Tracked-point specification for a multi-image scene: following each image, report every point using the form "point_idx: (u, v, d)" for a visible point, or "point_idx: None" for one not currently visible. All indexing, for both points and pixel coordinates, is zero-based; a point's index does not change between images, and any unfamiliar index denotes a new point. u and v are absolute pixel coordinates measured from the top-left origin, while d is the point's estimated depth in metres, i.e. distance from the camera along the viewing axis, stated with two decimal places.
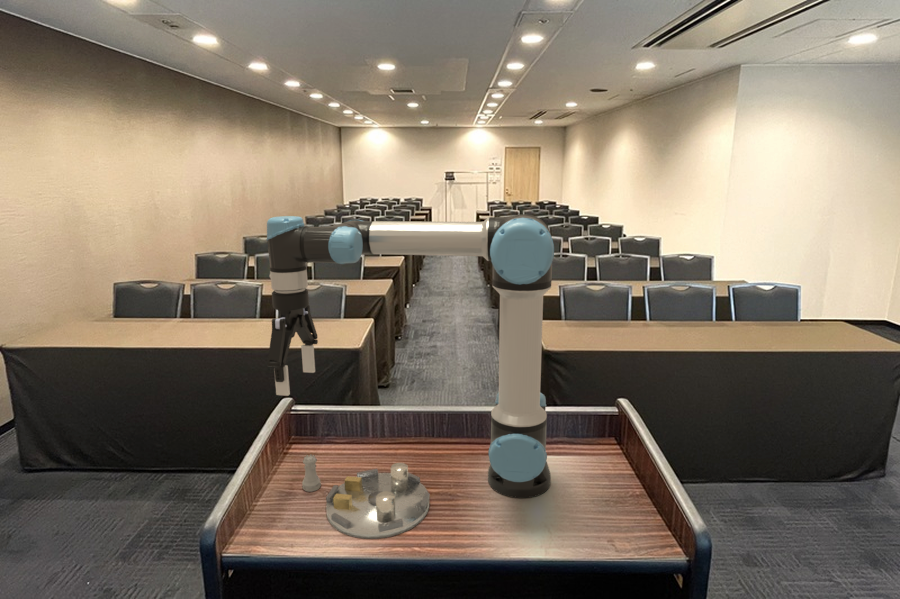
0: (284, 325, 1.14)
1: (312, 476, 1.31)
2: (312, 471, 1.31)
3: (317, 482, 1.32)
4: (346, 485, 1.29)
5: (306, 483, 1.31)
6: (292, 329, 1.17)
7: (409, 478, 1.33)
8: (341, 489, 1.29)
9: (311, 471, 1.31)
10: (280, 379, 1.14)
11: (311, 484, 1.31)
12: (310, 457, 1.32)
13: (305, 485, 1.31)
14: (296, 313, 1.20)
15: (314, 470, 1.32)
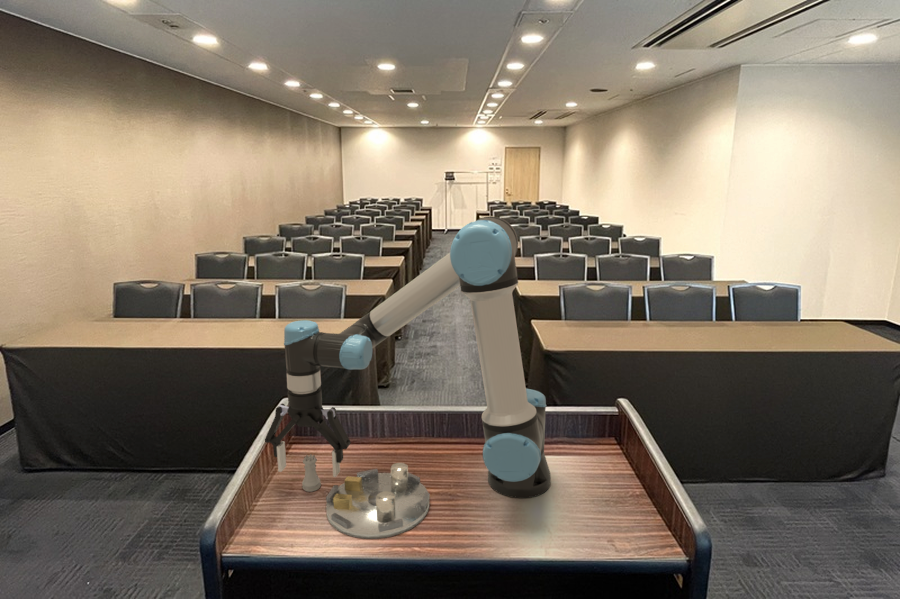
0: (278, 413, 1.28)
1: (312, 476, 1.31)
2: (312, 471, 1.31)
3: (317, 482, 1.32)
4: (346, 485, 1.29)
5: (306, 483, 1.31)
6: (290, 421, 1.28)
7: (409, 478, 1.33)
8: (341, 489, 1.29)
9: (311, 471, 1.31)
10: None
11: (311, 484, 1.31)
12: (310, 457, 1.32)
13: (305, 485, 1.31)
14: (303, 411, 1.27)
15: (314, 470, 1.32)
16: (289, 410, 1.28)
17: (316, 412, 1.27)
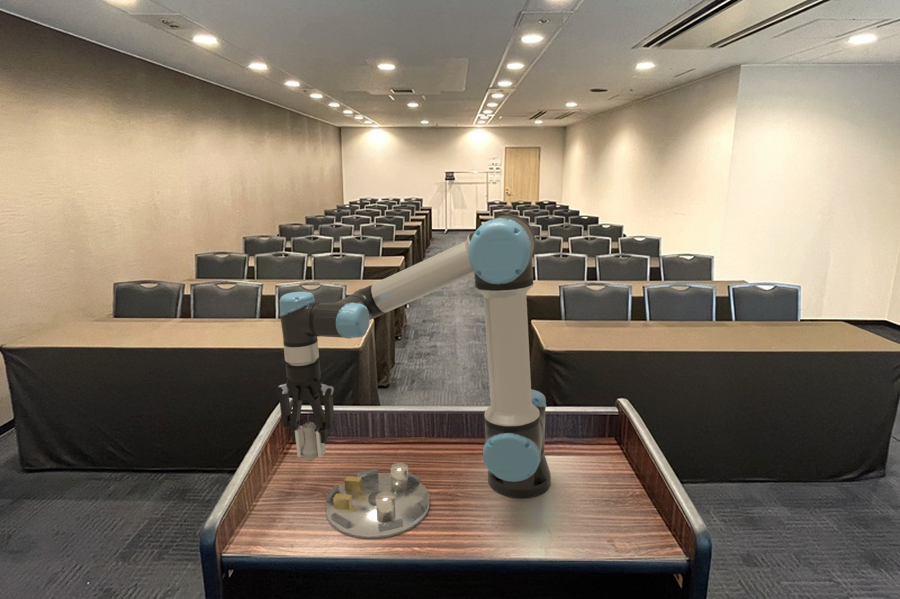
0: (280, 393, 1.27)
1: (311, 444, 1.29)
2: (312, 439, 1.29)
3: (317, 450, 1.30)
4: (346, 485, 1.29)
5: (306, 451, 1.29)
6: (293, 398, 1.27)
7: (409, 478, 1.33)
8: (341, 489, 1.29)
9: (311, 438, 1.29)
10: None
11: (311, 452, 1.29)
12: (309, 424, 1.30)
13: (305, 453, 1.29)
14: (302, 384, 1.26)
15: (314, 437, 1.29)
16: (287, 384, 1.26)
17: (316, 384, 1.25)
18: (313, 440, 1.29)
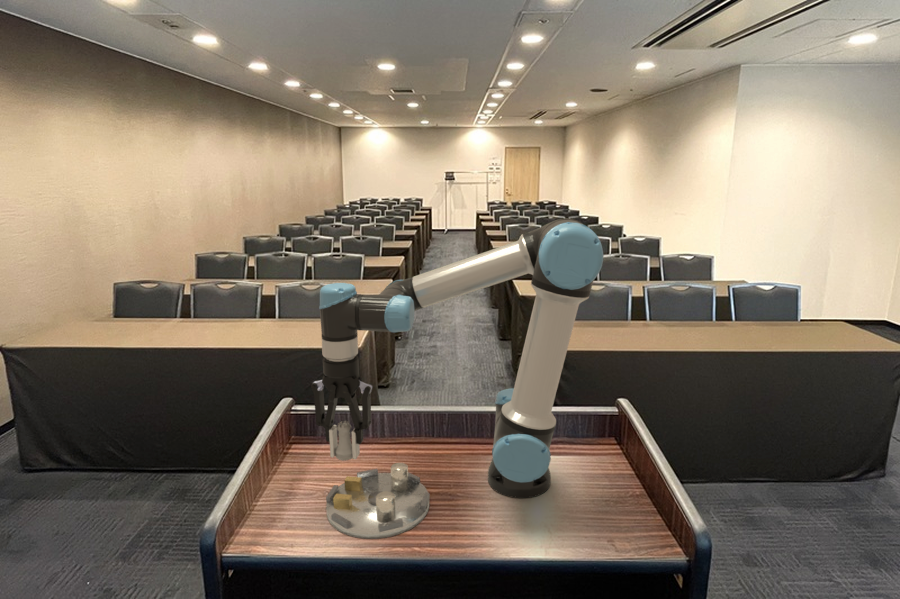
0: (315, 389, 1.20)
1: (346, 444, 1.22)
2: (346, 439, 1.22)
3: (351, 450, 1.23)
4: (346, 485, 1.29)
5: (340, 451, 1.22)
6: (329, 395, 1.19)
7: (409, 478, 1.33)
8: (341, 489, 1.29)
9: (346, 438, 1.22)
10: None
11: (345, 452, 1.22)
12: (344, 423, 1.22)
13: (339, 453, 1.22)
14: (340, 380, 1.19)
15: (348, 437, 1.22)
16: (323, 381, 1.19)
17: (354, 382, 1.18)
18: (348, 440, 1.22)
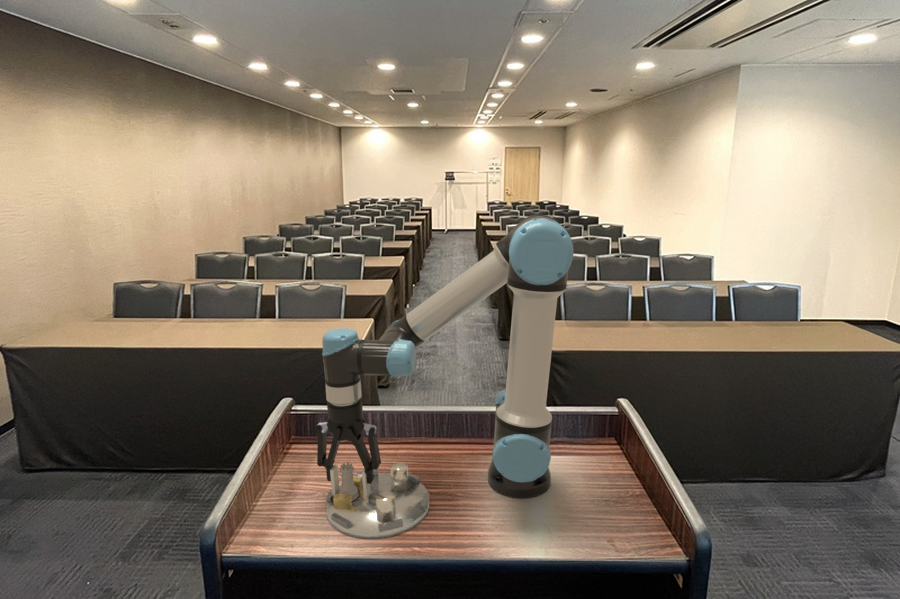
0: (319, 431, 1.22)
1: (349, 486, 1.24)
2: (349, 481, 1.24)
3: (355, 492, 1.25)
4: None
5: (344, 493, 1.24)
6: (333, 438, 1.22)
7: (409, 478, 1.33)
8: None
9: (349, 480, 1.24)
10: None
11: (348, 494, 1.24)
12: (347, 465, 1.25)
13: None
14: (344, 424, 1.21)
15: (351, 479, 1.25)
16: (328, 424, 1.21)
17: (358, 425, 1.20)
18: (351, 482, 1.24)
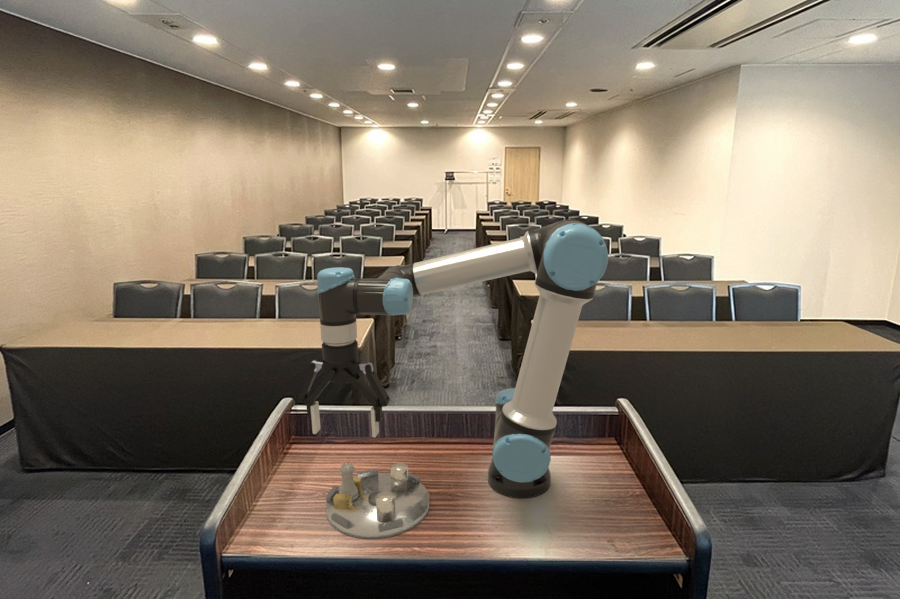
0: (312, 369, 1.19)
1: (349, 486, 1.24)
2: (350, 481, 1.24)
3: (355, 492, 1.25)
4: None
5: (344, 493, 1.24)
6: None
7: (409, 478, 1.33)
8: None
9: (349, 480, 1.24)
10: None
11: (348, 494, 1.24)
12: (348, 465, 1.25)
13: None
14: (339, 366, 1.18)
15: (352, 479, 1.25)
16: (323, 366, 1.18)
17: (353, 366, 1.17)
18: (351, 482, 1.25)
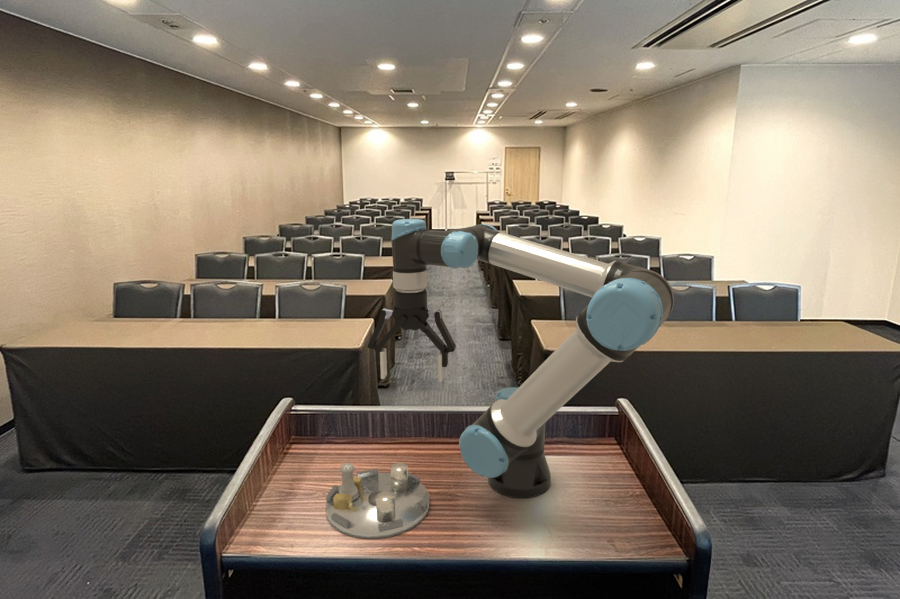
0: (382, 316, 1.25)
1: (349, 486, 1.24)
2: (350, 481, 1.24)
3: (355, 492, 1.25)
4: None
5: (344, 493, 1.24)
6: (395, 324, 1.25)
7: (409, 478, 1.33)
8: None
9: (349, 480, 1.24)
10: None
11: (348, 494, 1.24)
12: (347, 465, 1.25)
13: None
14: (409, 313, 1.24)
15: (352, 479, 1.25)
16: (394, 312, 1.25)
17: (423, 313, 1.24)
18: (351, 482, 1.25)
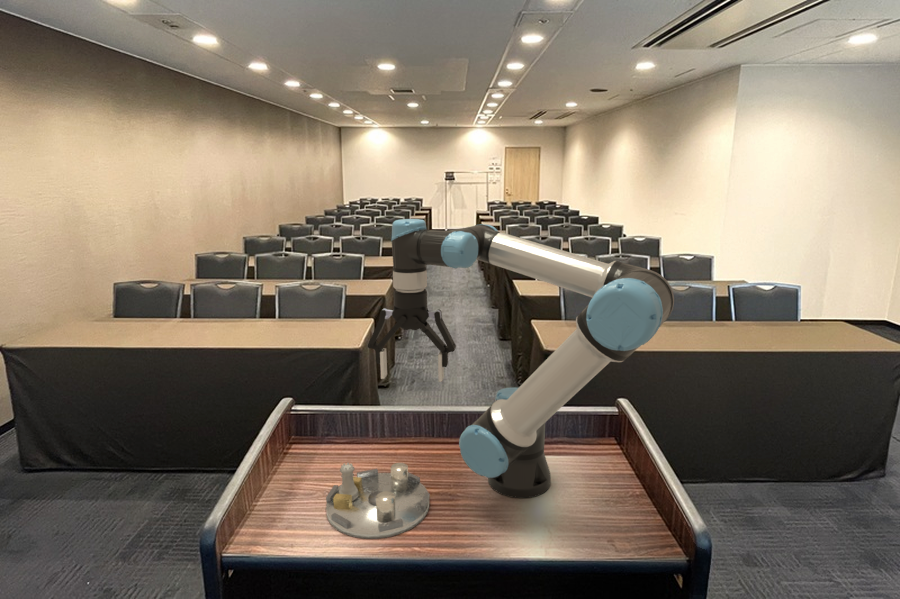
0: (383, 316, 1.25)
1: (349, 486, 1.24)
2: (350, 481, 1.24)
3: (355, 492, 1.25)
4: None
5: (344, 493, 1.24)
6: (395, 324, 1.25)
7: (409, 478, 1.33)
8: None
9: (349, 480, 1.24)
10: None
11: (348, 494, 1.24)
12: (347, 465, 1.25)
13: None
14: (409, 313, 1.24)
15: (352, 479, 1.25)
16: (394, 312, 1.25)
17: (423, 313, 1.24)
18: (351, 482, 1.25)
